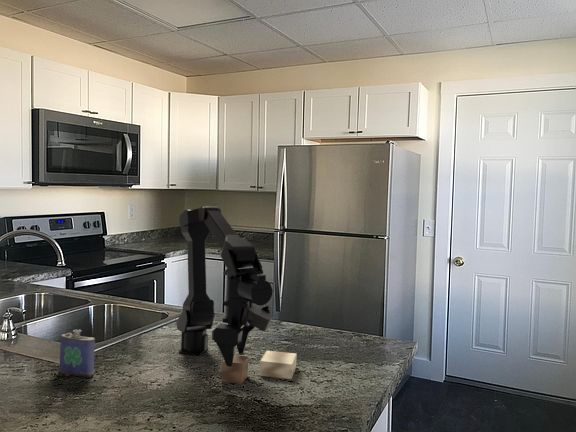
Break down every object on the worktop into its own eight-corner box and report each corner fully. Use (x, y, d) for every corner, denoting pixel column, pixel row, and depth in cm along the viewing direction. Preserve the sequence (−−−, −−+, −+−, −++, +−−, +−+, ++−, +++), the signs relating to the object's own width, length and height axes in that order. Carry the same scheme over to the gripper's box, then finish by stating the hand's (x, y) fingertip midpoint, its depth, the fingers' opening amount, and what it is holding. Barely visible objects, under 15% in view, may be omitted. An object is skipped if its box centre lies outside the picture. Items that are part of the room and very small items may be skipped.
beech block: (259, 376, 121) (260, 360, 121) (266, 365, 129) (266, 350, 129) (291, 380, 120) (292, 364, 120) (295, 368, 128) (296, 353, 128)
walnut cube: (221, 381, 117) (222, 361, 116) (228, 374, 122) (229, 354, 121) (241, 384, 116) (242, 363, 115) (247, 376, 121) (248, 356, 120)
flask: (96, 374, 117) (97, 330, 117) (88, 378, 115) (89, 333, 114) (64, 368, 120) (64, 325, 119) (55, 372, 117) (56, 328, 116)
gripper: (260, 308, 107) (257, 378, 108) (279, 291, 125) (276, 351, 126) (212, 303, 109) (209, 372, 110) (237, 287, 127) (235, 346, 128)
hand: (235, 359), depth 118 cm, fingers open, 9 cm apart
